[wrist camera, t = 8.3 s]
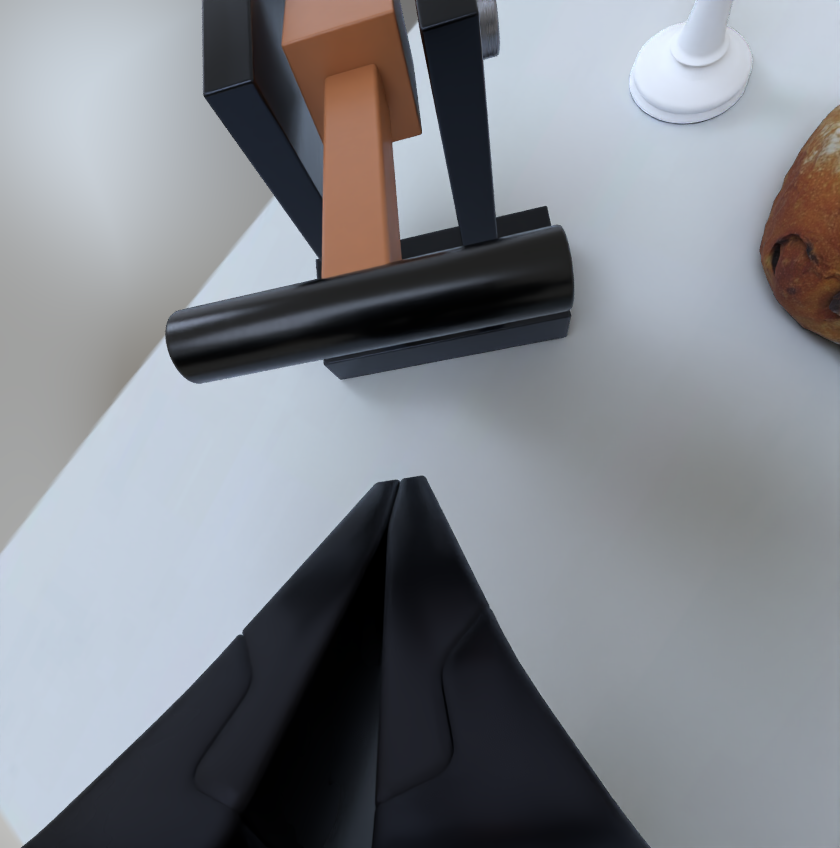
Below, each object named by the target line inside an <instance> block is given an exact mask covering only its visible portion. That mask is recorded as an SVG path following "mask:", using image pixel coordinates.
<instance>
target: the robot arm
mask: <svg viewBox="0 0 840 848" xmlns="http://www.w3.org/2000/svg"><path fill="white" fill-rule="evenodd" d="M242 634H243V635H238V636H237V637H236V638H235V639H234V640H233V641H232V643H231V644H230V645H229V646H228V647H227V648H226V649H225V650H224V651H223V652H222V654H221V655H220V656H219V657H218V658H217V659H216V660H215V661H214V662H213V663H212V664H211V665H210V666H209V668H208V669H207V670H206V671H205V672H204V673H203V674H202V675H201V676H200V677H199V678H198V679H197V680H196V681H195V682H194V683H193V685H192V686H191V687H190V688H189V689H188V690H187V691H186V692H185V693H184V694H183V695H182V696H181V697H180V698H179V699H178V700H177V701H176V702H175V703H174V704H173V705H172V706H171V707H170V708H169V709H168V710H167V711H166V712H165V713H164V714H163V715H162V716H161V717H160V718H159V719H158V720H157V721H155V722H154V723H153V724H152V725H151V726H150V727H149V728H148V729H147V730H146V731H145V732H144V733H143V734H142V735H141V736H140V737H139V738H138V739H137V740H136V741H135V742H134V743H133V744H132V745H131V746H130V747H129V748H128V749H126V750H125V751H124V752H123V753H122V754H121V755H120V756H119V757H118V758H117V759H116V760H115V761H114V762H113V763H112V764H111V765H110V766H109V767H108V768H107V769H106V770H105V771H104V772H103V773H101V774H100V775H99V776H98V777H97V778H96V779H95V780H94V781H93V782H92V783H91V784H90V785H89V786H88V787H87V788H86V789H85V790H84V791H83V792H82V793H81V794H80V795H79V796H78V797H77V798H75V799H74V800H73V801H72V802H71V803H70V804H69V805H68V806H67V807H66V808H65V809H64V810H63V811H62V812H61V813H60V814H59V815H58V816H57V817H56V818H55V819H54V820H52V821H51V822H50V823H49V824H48V825H47V826H46V827H45V828H44V829H43V830H41V831H40V832H39V833H38V834H37V835H36V836H35V837H34V838H32V839H31V840H30V841H29V842H27V843H26V844H25V845H24V846H22V847H21V848H651V847H650V846H649V845H648V844H647V843H646V841H645V840H644V839H643V838H642V836H641V835H640V834H639V833H638V831H637V830H636V829H635V827H634V826H633V825H632V823H631V822H630V821H629V819H628V818H627V817H626V816H625V814H624V813H623V812H622V810H621V809H620V807H619V806H618V805H617V803H616V802H615V801H614V799H613V798H612V797H611V795H610V794H609V792H608V791H607V790H606V788H605V787H604V785H603V784H602V782H601V781H600V780H599V778H598V777H597V775H596V774H595V772H594V771H593V770H592V768H591V767H590V765H589V764H588V762H587V761H586V760H585V758H584V757H583V755H582V754H581V752H580V751H579V749H578V748H577V747H576V745H575V744H574V742H573V741H572V739H571V738H570V737H569V735H568V734H567V732H566V731H565V729H564V728H563V727H562V725H561V724H560V722H559V721H558V719H557V718H556V717H555V715H554V714H553V712H552V711H551V709H550V708H549V707H548V705H547V704H546V702H545V701H544V699H543V698H542V696H541V695H540V693H539V692H538V690H537V689H536V687H535V686H534V684H533V683H532V681H531V679H530V678H529V676H528V675H527V673H526V672H525V670H524V669H523V667H522V665H521V664H520V662H519V661H518V659H517V657H516V655H515V653H514V652H513V650H512V648H511V646H510V644H509V643H508V641H507V639H506V637H505V635H504V633H503V632H502V630H501V628H500V626H499V624H498V622H497V620H496V617H495V615H494V613H493V611H492V610H491V609H490V607H489V604H488V602H487V600H486V598H485V596H484V594H483V592H482V590H481V588H480V586H479V584H478V582H477V580H476V578H475V576H474V574H473V572H472V570H471V568H470V566H469V564H468V562H467V560H466V558H465V556H464V554H463V552H462V550H461V548H460V546H459V544H458V541H457V539H456V537H455V535H454V533H453V531H452V529H451V527H450V525H449V523H448V521H447V519H446V517H445V515H444V513H443V511H442V509H441V507H440V505H439V503H438V501H437V499H436V497H435V495H434V493H433V491H432V489H431V487H430V485H429V483H428V481H427V479H426V477H424V476H416V477H410V478H404V479H402V480H401V482H400V481H399V480H390V481H384V482H378V483H376V484H375V485H374V486H373V487H372V488H371V489H370V490H369V491H368V492H367V493H366V495H365V496H364V497H363V498H362V499H361V500H360V501H359V502H358V503H357V505H356V506H355V507H354V508H353V509H352V510H351V511H350V512H349V513H348V514H347V516H346V517H345V518H344V519H343V520H342V521H341V522H340V523H339V524H338V526H337V527H336V528H335V529H334V530H333V531H332V532H331V533H330V534H329V535H328V537H327V538H326V539H325V540H324V541H323V542H322V543H321V544H320V545H319V547H318V548H317V549H316V550H315V551H314V552H313V553H312V554H311V555H310V557H309V558H308V559H307V560H306V561H305V562H304V563H303V564H302V565H301V566H300V568H299V569H298V570H297V571H296V572H295V573H294V574H293V575H292V576H291V578H290V579H289V580H288V581H287V582H286V583H285V584H284V585H283V586H282V587H281V589H280V590H279V591H278V592H277V593H276V594H275V595H274V596H273V597H272V599H271V600H270V601H269V602H268V603H267V604H266V605H265V606H264V607H263V609H262V610H261V611H260V612H259V613H258V614H257V615H256V616H255V617H254V618H253V620H252V621H251V622H250V623H249V624H248V625H247V626H246V627H245V628H244V630H243V632H242Z"/></svg>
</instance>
